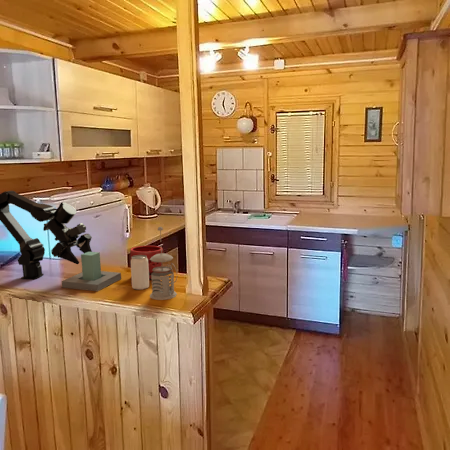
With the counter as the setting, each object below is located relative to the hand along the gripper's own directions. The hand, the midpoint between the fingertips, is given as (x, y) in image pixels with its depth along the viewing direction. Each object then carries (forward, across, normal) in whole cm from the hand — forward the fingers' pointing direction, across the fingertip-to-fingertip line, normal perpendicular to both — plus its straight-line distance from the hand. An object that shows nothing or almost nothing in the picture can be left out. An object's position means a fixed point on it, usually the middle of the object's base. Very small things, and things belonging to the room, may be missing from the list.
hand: (85, 260), depth 173 cm
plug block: (+8, 0, +5) cm, 9 cm away
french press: (+32, -5, -20) cm, 38 cm away
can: (+23, +1, -10) cm, 25 cm away
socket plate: (+8, 0, +5) cm, 9 cm away
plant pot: (+20, +14, -7) cm, 25 cm away
